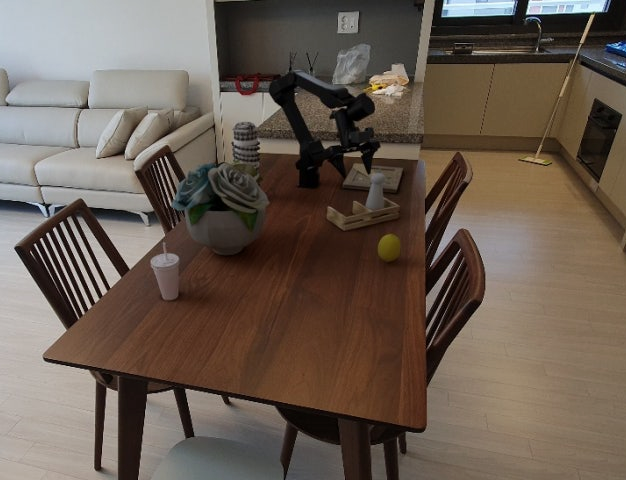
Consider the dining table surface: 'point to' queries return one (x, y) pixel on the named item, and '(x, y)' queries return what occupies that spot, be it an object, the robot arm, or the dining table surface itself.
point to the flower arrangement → (222, 205)
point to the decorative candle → (246, 145)
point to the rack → (363, 215)
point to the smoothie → (166, 273)
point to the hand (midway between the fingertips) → (357, 176)
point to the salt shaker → (376, 193)
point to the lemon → (389, 247)
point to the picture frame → (362, 179)
